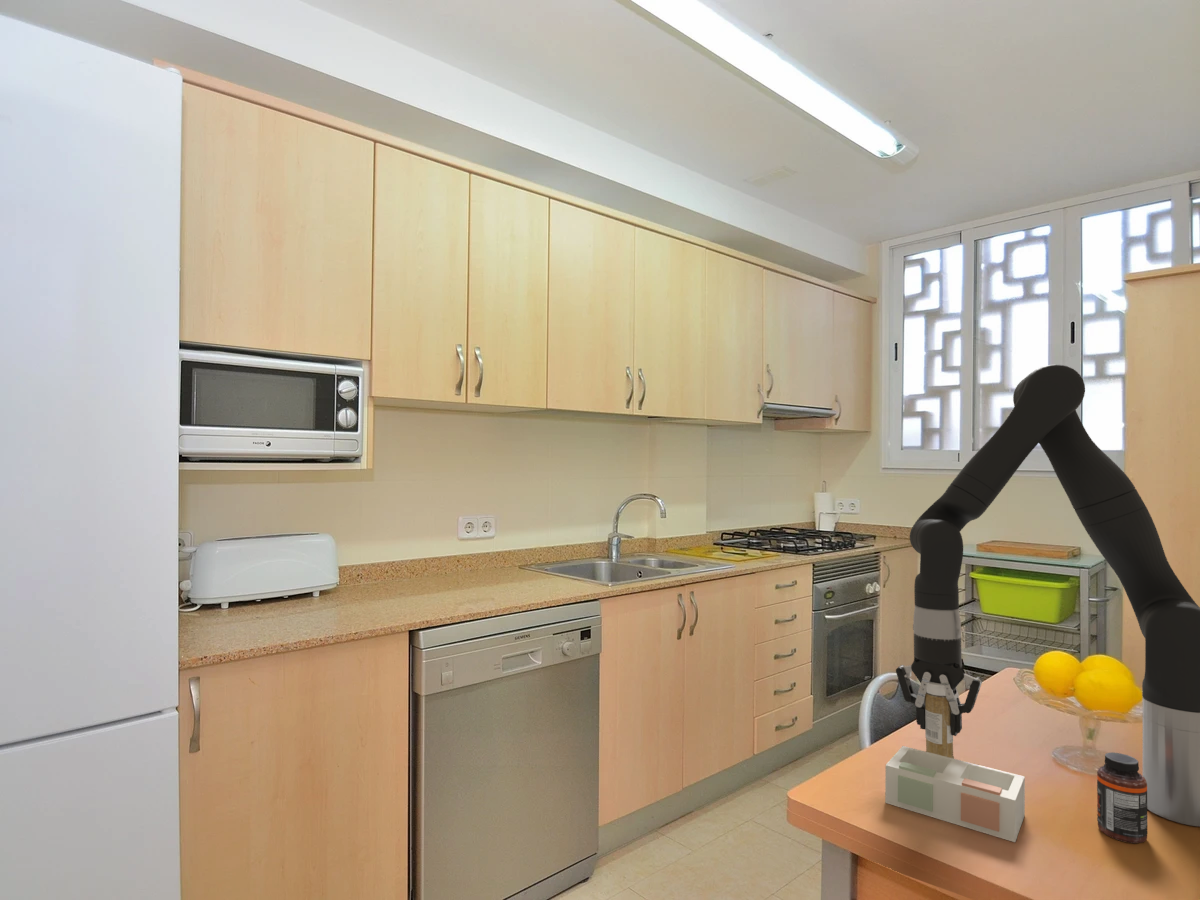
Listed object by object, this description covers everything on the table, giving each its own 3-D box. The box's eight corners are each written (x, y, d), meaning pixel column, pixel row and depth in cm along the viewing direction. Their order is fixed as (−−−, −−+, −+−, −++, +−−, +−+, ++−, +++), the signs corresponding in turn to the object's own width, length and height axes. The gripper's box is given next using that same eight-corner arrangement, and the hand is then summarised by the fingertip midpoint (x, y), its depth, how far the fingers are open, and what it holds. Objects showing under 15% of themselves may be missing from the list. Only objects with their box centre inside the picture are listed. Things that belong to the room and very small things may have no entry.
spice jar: (960, 763, 118) (958, 684, 118) (935, 765, 117) (934, 685, 118) (943, 752, 122) (941, 676, 123) (919, 754, 122) (918, 677, 122)
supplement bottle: (1098, 819, 106) (1098, 745, 106) (1147, 833, 102) (1147, 756, 102) (1095, 835, 101) (1095, 758, 102) (1147, 850, 98) (1147, 769, 98)
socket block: (1024, 815, 107) (1024, 773, 107) (1014, 843, 99) (1014, 798, 99) (902, 781, 118) (902, 743, 118) (884, 803, 110) (884, 763, 110)
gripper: (986, 634, 119) (988, 734, 119) (899, 623, 128) (901, 716, 127) (979, 642, 113) (981, 748, 113) (888, 630, 122) (890, 728, 121)
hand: (938, 730), depth 120 cm, fingers closed on spice jar, 4 cm apart
